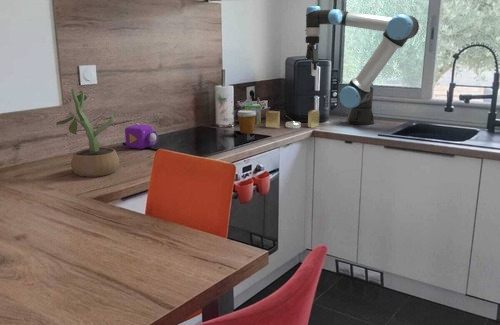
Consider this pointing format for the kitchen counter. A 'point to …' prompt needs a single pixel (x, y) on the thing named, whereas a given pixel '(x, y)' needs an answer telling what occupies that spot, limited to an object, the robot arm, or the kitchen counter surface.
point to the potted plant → (91, 145)
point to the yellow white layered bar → (313, 118)
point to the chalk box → (257, 109)
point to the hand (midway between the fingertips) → (311, 75)
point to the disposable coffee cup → (246, 121)
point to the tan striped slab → (273, 119)
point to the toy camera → (140, 136)
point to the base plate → (293, 124)
